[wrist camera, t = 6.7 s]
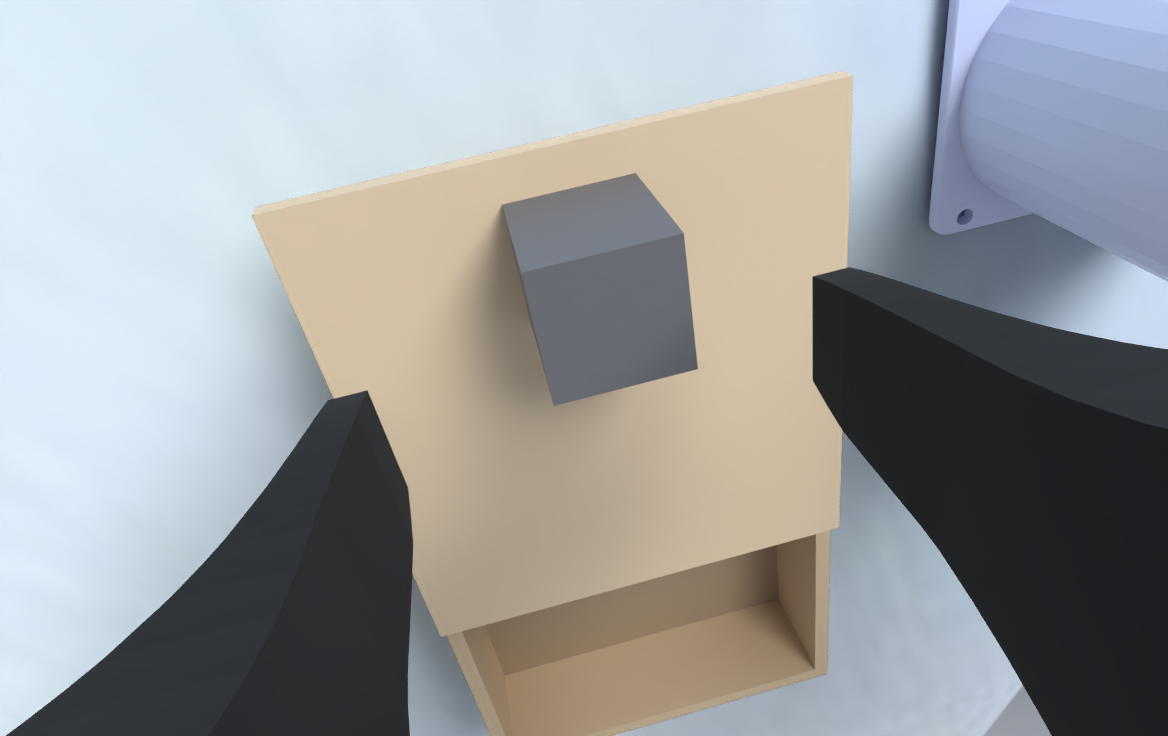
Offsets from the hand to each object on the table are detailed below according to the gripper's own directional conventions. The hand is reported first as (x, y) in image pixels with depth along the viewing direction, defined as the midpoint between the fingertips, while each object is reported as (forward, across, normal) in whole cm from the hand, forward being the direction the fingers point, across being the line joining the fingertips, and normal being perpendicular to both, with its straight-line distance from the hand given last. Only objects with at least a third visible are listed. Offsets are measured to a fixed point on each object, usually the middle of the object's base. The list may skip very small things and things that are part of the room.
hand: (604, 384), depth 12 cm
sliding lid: (+6, -1, +5) cm, 8 cm away
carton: (+10, -1, +14) cm, 17 cm away
